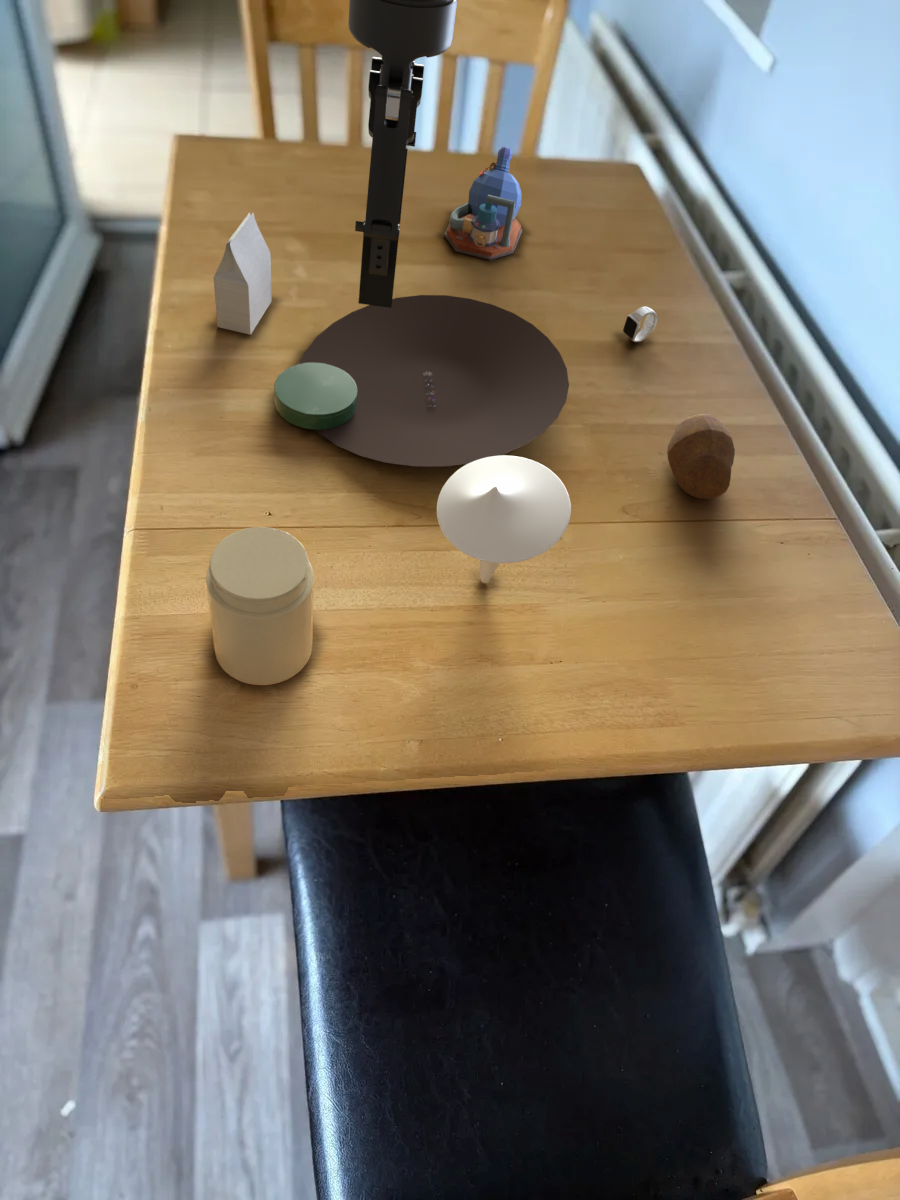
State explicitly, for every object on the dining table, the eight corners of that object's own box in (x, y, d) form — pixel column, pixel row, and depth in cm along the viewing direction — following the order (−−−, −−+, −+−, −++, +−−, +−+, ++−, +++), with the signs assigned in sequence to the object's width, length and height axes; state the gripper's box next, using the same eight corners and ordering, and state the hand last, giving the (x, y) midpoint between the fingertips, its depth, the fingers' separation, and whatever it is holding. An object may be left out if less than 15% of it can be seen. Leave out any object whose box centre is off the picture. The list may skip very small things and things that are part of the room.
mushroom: (473, 648, 74) (498, 550, 65) (401, 561, 79) (415, 458, 70) (568, 600, 79) (604, 502, 70) (495, 521, 84) (520, 420, 75)
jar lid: (370, 418, 90) (372, 403, 88) (295, 438, 87) (295, 423, 85) (334, 370, 94) (335, 355, 93) (261, 388, 91) (261, 372, 89)
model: (459, 203, 120) (469, 132, 113) (526, 220, 120) (541, 150, 113) (437, 247, 113) (447, 174, 106) (509, 265, 112) (523, 192, 105)
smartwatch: (643, 330, 107) (652, 300, 104) (654, 340, 106) (664, 311, 103) (619, 337, 106) (628, 307, 102) (630, 347, 105) (640, 318, 101)
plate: (294, 306, 101) (294, 276, 98) (538, 320, 106) (544, 292, 103) (292, 481, 84) (292, 451, 81) (583, 488, 88) (593, 460, 85)
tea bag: (271, 301, 101) (269, 216, 93) (250, 334, 97) (246, 248, 89) (239, 293, 101) (235, 208, 94) (217, 326, 97) (210, 239, 89)
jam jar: (199, 672, 69) (187, 588, 62) (233, 599, 74) (226, 512, 66) (296, 695, 69) (295, 614, 61) (323, 620, 74) (326, 536, 66)
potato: (667, 508, 88) (688, 460, 83) (651, 441, 94) (670, 393, 89) (732, 513, 89) (757, 466, 84) (712, 447, 95) (734, 399, 90)
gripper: (457, 55, 55) (418, 350, 71) (460, -68, 71) (428, 196, 87) (333, 35, 54) (322, 337, 70) (365, -85, 70) (349, 184, 86)
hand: (380, 259), depth 79 cm, fingers open, 13 cm apart
